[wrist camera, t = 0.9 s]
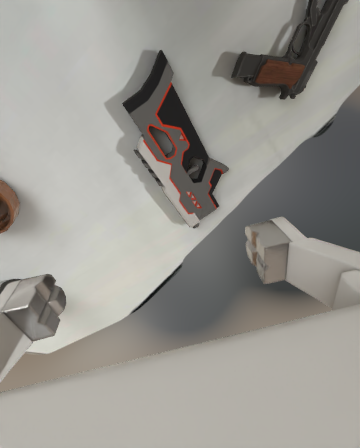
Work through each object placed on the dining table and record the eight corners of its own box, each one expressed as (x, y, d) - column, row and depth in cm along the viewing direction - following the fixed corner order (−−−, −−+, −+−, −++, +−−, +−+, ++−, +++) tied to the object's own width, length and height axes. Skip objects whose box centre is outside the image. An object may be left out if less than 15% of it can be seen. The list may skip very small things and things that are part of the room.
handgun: (237, 76, 39) (299, 107, 45) (303, -94, 30) (369, -29, 36) (229, 77, 42) (288, 106, 48) (286, -78, 33) (350, -21, 39)
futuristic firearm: (236, 193, 58) (189, 225, 60) (167, 44, 37) (95, 99, 38) (242, 198, 56) (192, 231, 57) (172, 42, 35) (95, 101, 36)
